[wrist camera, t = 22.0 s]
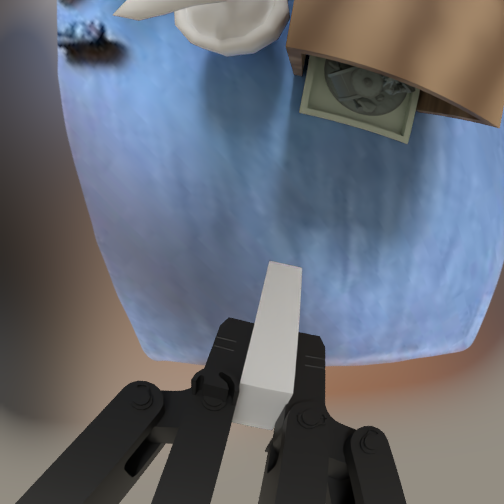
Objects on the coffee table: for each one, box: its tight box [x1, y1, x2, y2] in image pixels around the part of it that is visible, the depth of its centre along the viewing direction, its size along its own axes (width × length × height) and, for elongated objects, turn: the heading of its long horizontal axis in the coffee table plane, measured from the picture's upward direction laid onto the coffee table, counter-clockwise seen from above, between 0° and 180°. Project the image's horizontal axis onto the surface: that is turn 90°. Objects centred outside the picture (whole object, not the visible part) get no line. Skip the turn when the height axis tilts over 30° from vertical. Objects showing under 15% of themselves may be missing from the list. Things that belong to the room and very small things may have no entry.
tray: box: [299, 55, 420, 144], centre depth 27 cm, size 14×14×2 cm
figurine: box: [324, 59, 415, 116], centre depth 22 cm, size 11×11×12 cm
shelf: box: [286, 0, 504, 128], centre depth 18 cm, size 17×16×18 cm
